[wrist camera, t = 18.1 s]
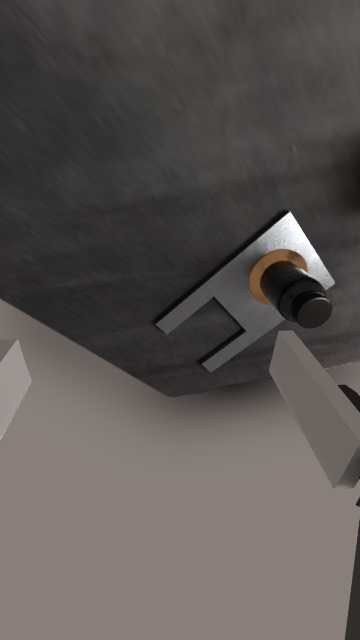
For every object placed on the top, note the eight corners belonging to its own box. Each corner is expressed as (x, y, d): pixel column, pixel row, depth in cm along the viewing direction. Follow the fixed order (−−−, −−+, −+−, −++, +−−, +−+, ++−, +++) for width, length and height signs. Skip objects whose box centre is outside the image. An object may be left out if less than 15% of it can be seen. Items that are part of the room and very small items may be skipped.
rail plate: (209, 369, 57) (211, 373, 56) (155, 321, 50) (155, 325, 49) (332, 281, 49) (335, 283, 48) (287, 210, 42) (290, 211, 41)
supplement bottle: (291, 298, 49) (329, 336, 39) (254, 296, 48) (282, 334, 38) (304, 260, 45) (349, 291, 35) (264, 257, 45) (298, 288, 34)
